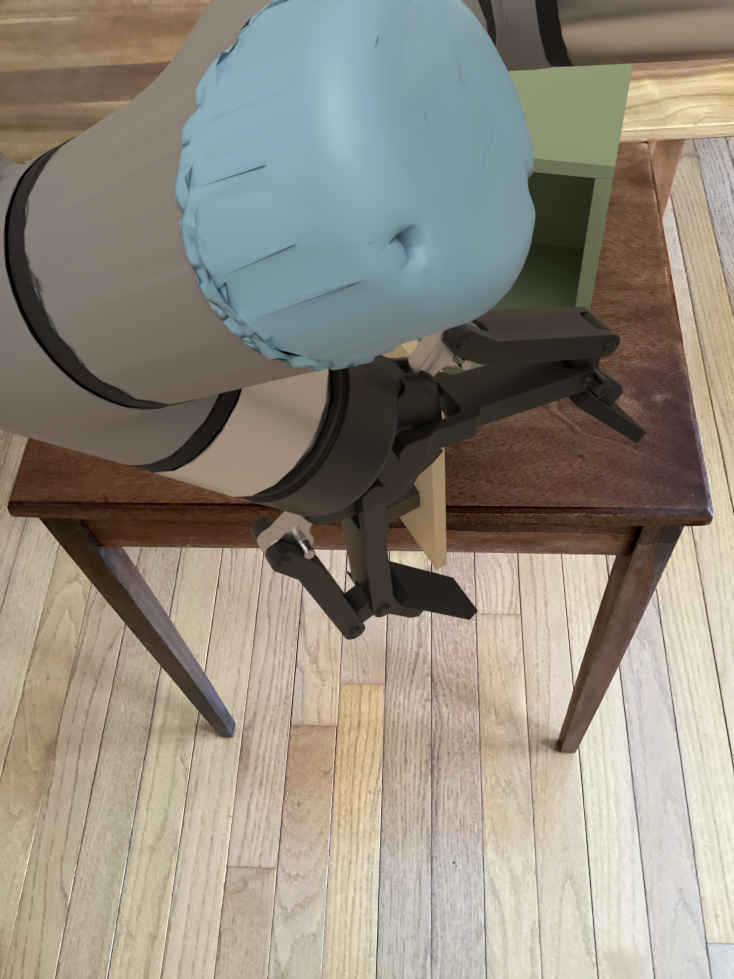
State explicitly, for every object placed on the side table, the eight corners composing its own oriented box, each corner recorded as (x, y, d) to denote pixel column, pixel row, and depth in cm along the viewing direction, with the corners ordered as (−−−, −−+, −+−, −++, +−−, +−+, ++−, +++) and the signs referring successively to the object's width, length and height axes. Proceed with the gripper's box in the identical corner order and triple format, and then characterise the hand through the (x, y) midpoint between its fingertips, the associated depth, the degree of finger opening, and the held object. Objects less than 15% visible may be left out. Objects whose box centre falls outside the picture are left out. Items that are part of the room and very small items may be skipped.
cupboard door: (371, 606, 73) (339, 424, 52) (230, 386, 86) (160, 173, 65) (446, 564, 74) (443, 371, 54) (296, 354, 87) (248, 135, 67)
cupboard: (575, 392, 82) (615, 165, 62) (294, 351, 88) (245, 130, 67) (600, 251, 91) (641, 13, 71) (343, 222, 97) (313, -8, 76)
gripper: (420, 88, 34) (654, 301, 50) (73, 563, 42) (370, 618, 57) (538, 179, 30) (755, 382, 45) (125, 693, 37) (432, 713, 53)
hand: (540, 514), depth 51 cm, fingers open, 13 cm apart
